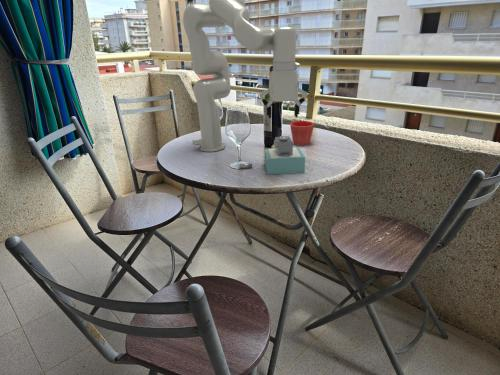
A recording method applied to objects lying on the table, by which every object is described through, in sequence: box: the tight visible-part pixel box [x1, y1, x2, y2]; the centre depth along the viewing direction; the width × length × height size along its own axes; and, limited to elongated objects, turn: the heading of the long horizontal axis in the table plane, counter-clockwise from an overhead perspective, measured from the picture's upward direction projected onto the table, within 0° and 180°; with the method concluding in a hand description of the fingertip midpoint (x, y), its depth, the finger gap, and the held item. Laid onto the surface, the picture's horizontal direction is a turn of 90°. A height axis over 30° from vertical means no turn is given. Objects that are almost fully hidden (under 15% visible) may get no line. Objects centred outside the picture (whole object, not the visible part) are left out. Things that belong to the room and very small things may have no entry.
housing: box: [274, 135, 294, 157], centre depth 120 cm, size 11×6×6 cm, turn 3°
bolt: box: [238, 162, 253, 170], centre depth 125 cm, size 5×2×2 cm
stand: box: [263, 146, 306, 175], centre depth 122 cm, size 14×12×6 cm
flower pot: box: [289, 120, 315, 146], centre depth 150 cm, size 11×11×10 cm
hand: (282, 116), depth 116 cm, fingers open, 9 cm apart
